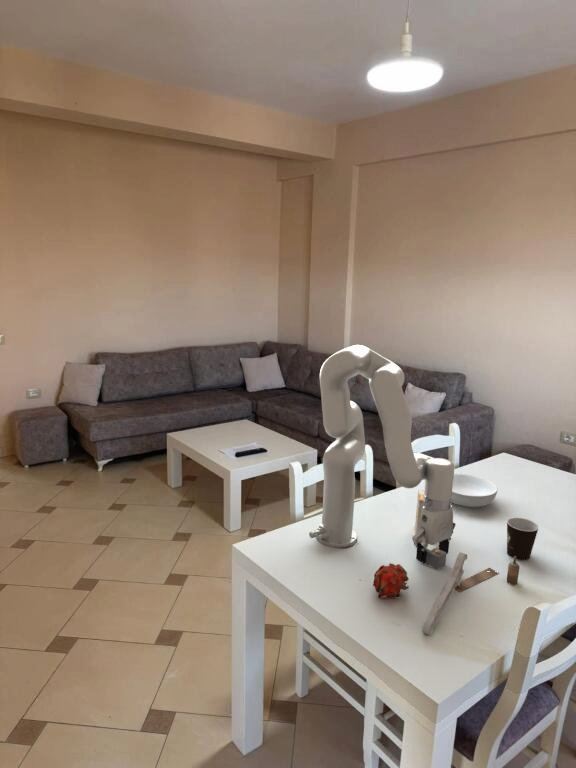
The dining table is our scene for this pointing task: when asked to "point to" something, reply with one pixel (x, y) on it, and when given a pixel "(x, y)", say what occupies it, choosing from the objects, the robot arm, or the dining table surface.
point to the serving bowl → (472, 491)
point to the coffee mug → (520, 537)
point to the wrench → (445, 594)
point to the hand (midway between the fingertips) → (432, 556)
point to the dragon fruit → (390, 580)
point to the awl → (513, 572)
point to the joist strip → (475, 579)
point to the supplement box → (419, 509)
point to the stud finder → (435, 557)
